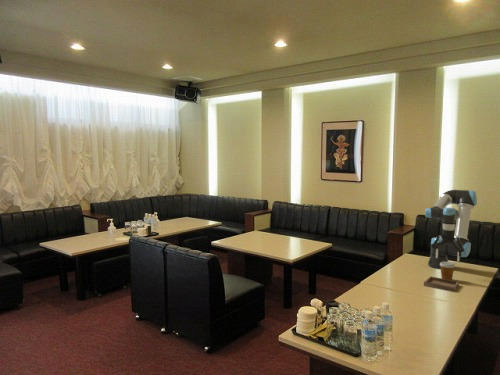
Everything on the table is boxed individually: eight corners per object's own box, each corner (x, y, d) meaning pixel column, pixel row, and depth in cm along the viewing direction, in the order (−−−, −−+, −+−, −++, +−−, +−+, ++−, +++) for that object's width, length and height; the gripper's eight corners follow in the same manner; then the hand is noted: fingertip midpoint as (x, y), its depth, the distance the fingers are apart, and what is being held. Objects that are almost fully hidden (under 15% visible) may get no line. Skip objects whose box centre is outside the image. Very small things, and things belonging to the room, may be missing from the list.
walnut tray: (430, 279, 252) (430, 276, 252) (458, 285, 240) (459, 281, 240) (423, 285, 240) (423, 282, 240) (453, 291, 228) (454, 288, 228)
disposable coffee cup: (450, 277, 257) (451, 261, 256) (457, 282, 247) (457, 265, 246) (436, 277, 258) (437, 261, 257) (442, 281, 248) (443, 264, 247)
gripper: (427, 228, 255) (426, 257, 256) (468, 232, 239) (466, 263, 240) (430, 227, 261) (429, 255, 262) (469, 231, 245) (468, 261, 246)
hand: (447, 259), depth 251 cm, fingers open, 13 cm apart
